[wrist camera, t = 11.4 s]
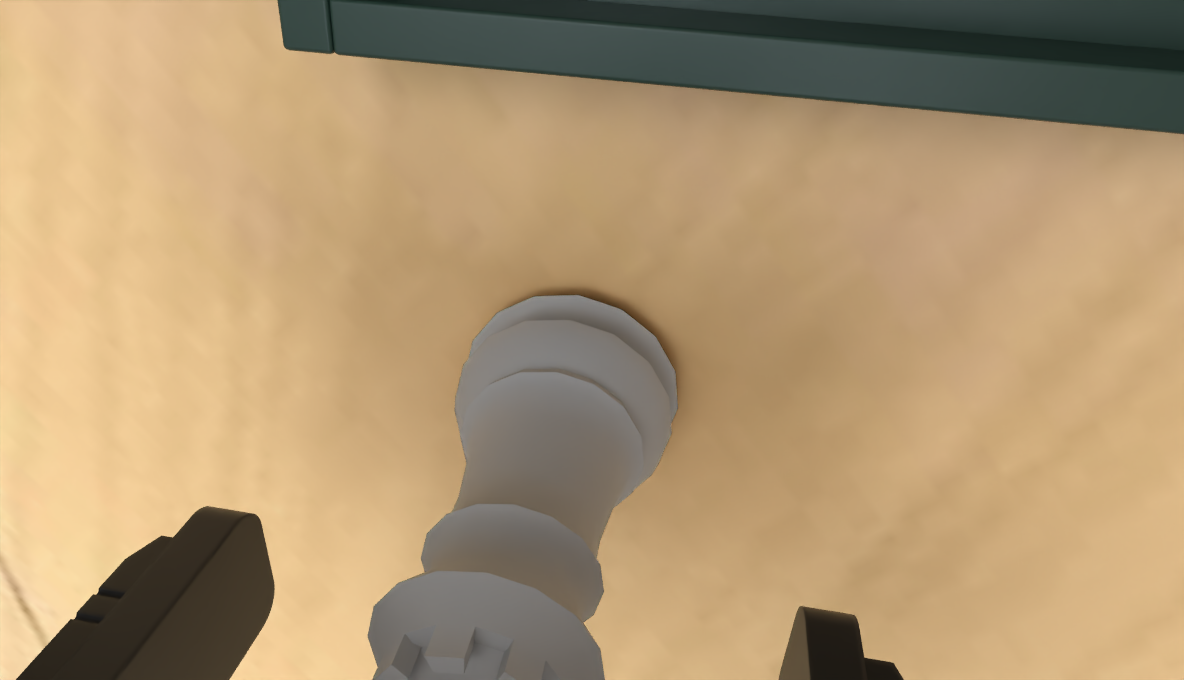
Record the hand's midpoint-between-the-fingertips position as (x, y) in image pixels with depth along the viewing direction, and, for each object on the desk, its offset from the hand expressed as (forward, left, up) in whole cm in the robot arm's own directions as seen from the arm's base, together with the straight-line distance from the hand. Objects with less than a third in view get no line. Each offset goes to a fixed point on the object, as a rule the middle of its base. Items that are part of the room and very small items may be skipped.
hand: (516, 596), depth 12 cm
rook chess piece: (0, 0, -6) cm, 6 cm away
